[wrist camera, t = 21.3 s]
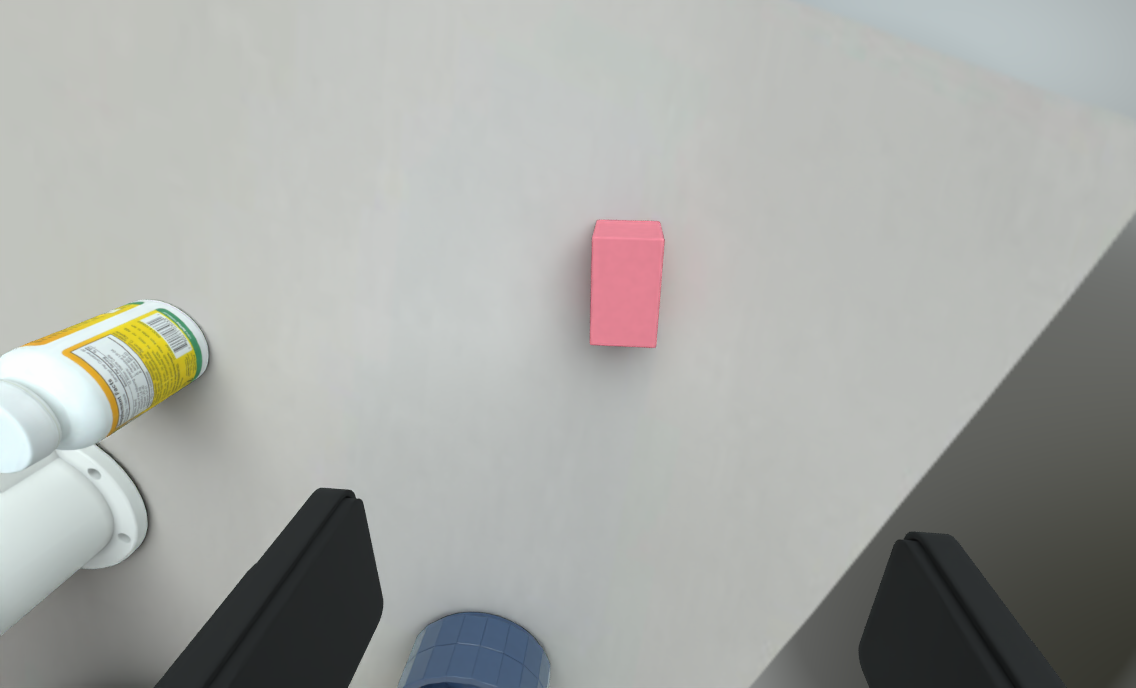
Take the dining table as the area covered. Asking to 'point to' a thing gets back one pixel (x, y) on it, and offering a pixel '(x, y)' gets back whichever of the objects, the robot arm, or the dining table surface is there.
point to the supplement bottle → (94, 379)
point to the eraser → (626, 283)
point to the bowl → (475, 655)
